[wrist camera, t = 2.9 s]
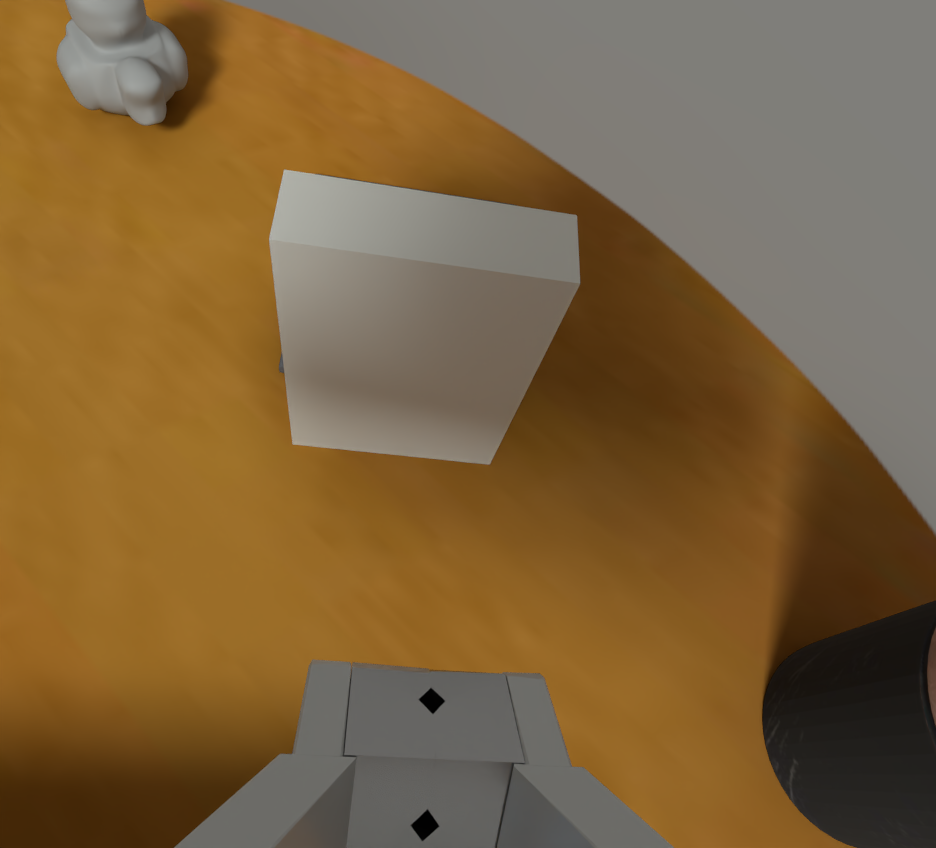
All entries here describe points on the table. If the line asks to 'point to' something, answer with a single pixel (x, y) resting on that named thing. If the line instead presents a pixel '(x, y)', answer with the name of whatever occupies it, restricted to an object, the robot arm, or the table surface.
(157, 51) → the grey animal figurine
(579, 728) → the table surface
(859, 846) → the travel mug
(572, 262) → the white flat box
